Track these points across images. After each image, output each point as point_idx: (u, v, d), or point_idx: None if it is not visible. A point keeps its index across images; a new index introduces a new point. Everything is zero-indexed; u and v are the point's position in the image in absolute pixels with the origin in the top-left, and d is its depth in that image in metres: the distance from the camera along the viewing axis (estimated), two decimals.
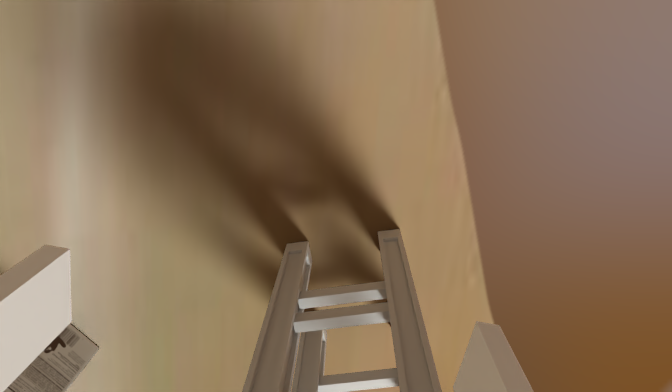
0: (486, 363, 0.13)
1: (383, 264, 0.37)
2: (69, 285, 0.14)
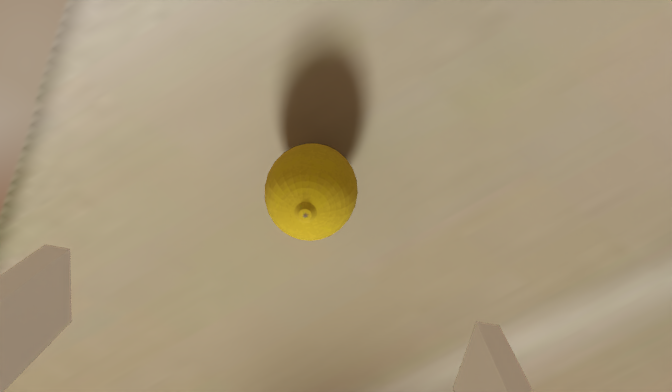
0: (486, 363, 0.13)
1: None
2: (69, 285, 0.14)
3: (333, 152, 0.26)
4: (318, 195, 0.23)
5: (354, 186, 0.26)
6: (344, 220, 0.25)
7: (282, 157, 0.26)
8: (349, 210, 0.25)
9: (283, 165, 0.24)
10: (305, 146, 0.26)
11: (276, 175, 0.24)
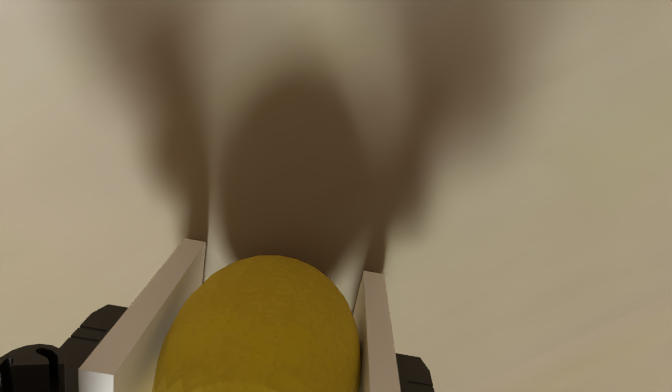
0: (362, 303, 0.14)
1: None
2: (201, 274, 0.16)
3: (308, 291, 0.12)
4: None
5: (355, 370, 0.11)
6: None
7: (193, 306, 0.11)
8: None
9: (188, 341, 0.10)
10: (246, 278, 0.12)
11: (168, 365, 0.10)
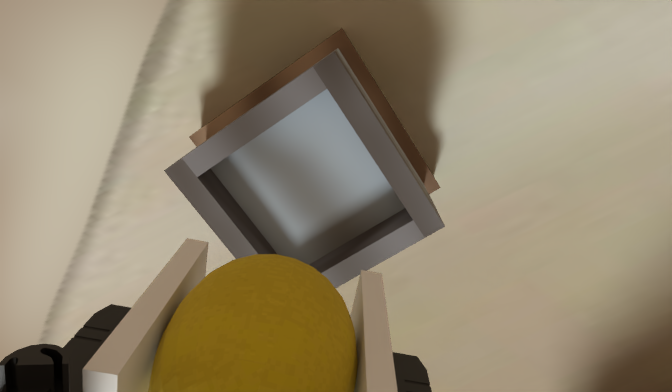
0: (360, 302, 0.15)
1: None
2: (203, 274, 0.16)
3: (304, 289, 0.12)
4: None
5: (351, 368, 0.11)
6: None
7: (189, 304, 0.11)
8: None
9: (183, 339, 0.10)
10: (242, 276, 0.12)
11: (164, 362, 0.10)
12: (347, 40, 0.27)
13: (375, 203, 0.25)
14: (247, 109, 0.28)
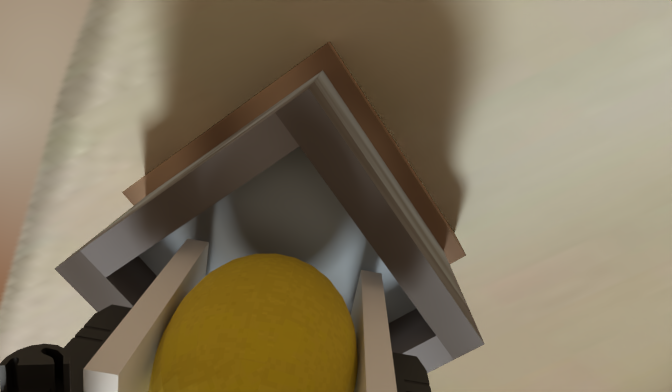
0: (359, 302, 0.15)
1: None
2: (204, 274, 0.16)
3: (305, 288, 0.12)
4: None
5: (351, 367, 0.11)
6: None
7: (189, 303, 0.11)
8: None
9: (184, 338, 0.10)
10: (243, 275, 0.12)
11: (165, 361, 0.10)
12: (335, 59, 0.19)
13: None
14: (199, 155, 0.21)
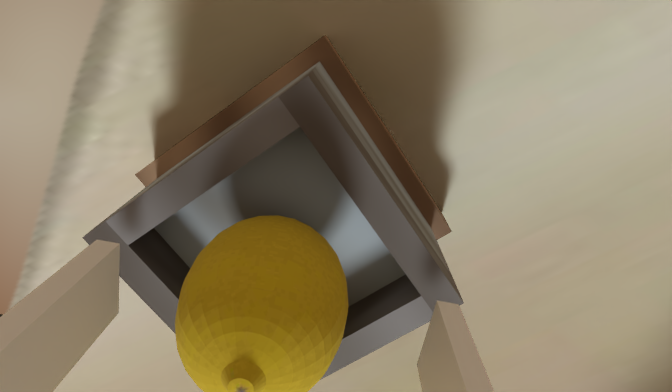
0: (442, 338, 0.14)
1: None
2: (117, 278, 0.15)
3: (303, 239, 0.14)
4: (268, 345, 0.12)
5: (342, 303, 0.14)
6: (323, 373, 0.13)
7: (208, 251, 0.14)
8: (333, 354, 0.13)
9: (205, 275, 0.13)
10: (251, 229, 0.14)
11: (190, 294, 0.13)
12: (331, 51, 0.21)
13: (370, 266, 0.19)
14: (206, 140, 0.22)
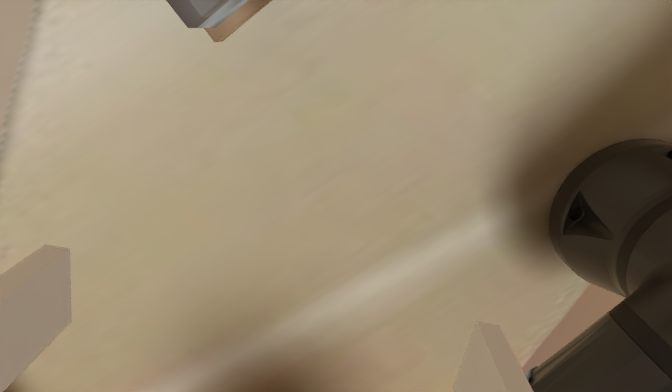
0: (486, 363, 0.13)
1: None
2: (68, 285, 0.14)
3: None
4: None
5: None
6: None
7: None
8: None
9: None
10: None
11: None
12: None
13: None
14: None
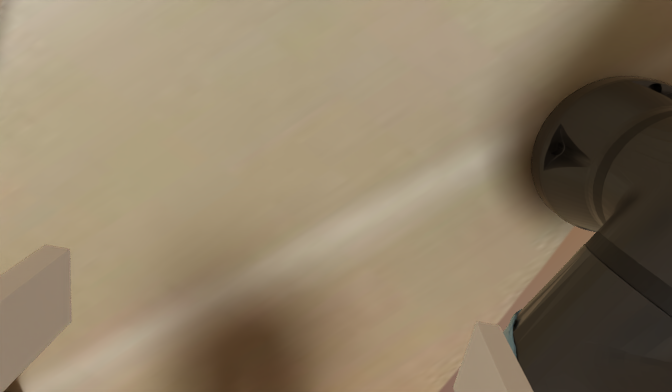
0: (486, 363, 0.13)
1: None
2: (68, 285, 0.14)
3: None
4: None
5: None
6: None
7: None
8: None
9: None
10: None
11: None
12: None
13: None
14: None
